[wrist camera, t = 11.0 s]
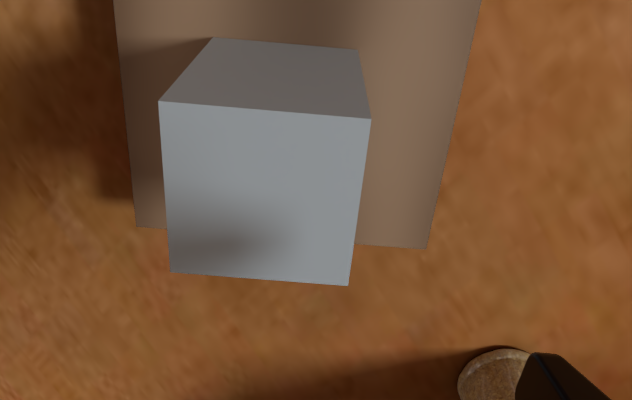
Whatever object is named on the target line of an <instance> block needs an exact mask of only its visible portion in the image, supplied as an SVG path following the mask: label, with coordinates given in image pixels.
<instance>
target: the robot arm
mask: <svg viewBox="0 0 632 400" xmlns="http://www.w3.org/2000/svg"><path fill="white" fill-rule="evenodd" d="M515 400H611V399H610V398H609V397H608V396H606V395H605V394H604V393H603V392H602V391H601V390H599V389H598V388H597V387H596V386H595V385H594V384H593V383H591V382H590V381H589V380H588V379H587V378H586V377H584V376H583V375H582V374H581V373H580V372H579V371H578V370H576V369H575V368H574V367H573V366H572V365H571V364H569V363H568V362H567V361H566V360H565V359H564V358H562V357H561V356H559V355H557V354H550V353H539V352H535V353H532V354H530V355H529V357H528V359H527V361H526V363H525V366H524V368H523V371H522V373H521V376H520V378H519V381H518V383H517V386H516V389H515Z"/></svg>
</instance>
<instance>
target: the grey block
mask: <svg viewBox="0 0 632 400" xmlns="http://www.w3.org/2000/svg"><path fill="white" fill-rule="evenodd" d="M158 107H159V121H160V135H161V149H162V163H163V177H164V191H165V204H166V218H167V232H168V246H169V260H170V272H175V273H188V274H201V275H214V276H227V277H239V278H252V279H265V280H278V281H291V282H304V283H317V284H329V285H342V286H348V282H349V275H350V268H351V261H352V254H353V246H354V239H355V232H356V225H357V218H358V211H359V204H360V197H361V190H362V183H363V176H364V169H365V162H366V155H367V148H368V141H369V134H370V127H371V120H372V119H371V113H370V108H369V103H368V98H367V93H366V88H365V83H364V78H363V73H362V68H361V63H360V58H359V53H358V50H354V49H343V48H331V47H320V46H308V45H297V44H286V43H274V42H263V41H251V40H240V39H229V38H217V37H213V38H212V39H211V40H210V41H209V43H208V44H207V45H206V46H205V47H204V48H203V50H202V51H201V52H200V53H199V54H198V55H197V57H196V58H195V59H194V60H193V61H192V62H191V63H190V65H189V66H188V67H187V68H186V69H185V70H184V72H183V73H182V74H181V75H180V76H179V77H178V78H177V80H176V81H175V82H174V83H173V84H172V85H171V87H170V88H169V89H168V90H167V91H166V92H165V94H164V95H163V96H162V97H161V98H160V99H159V100H158Z"/></svg>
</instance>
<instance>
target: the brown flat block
mask: <svg viewBox="0 0 632 400" xmlns="http://www.w3.org/2000/svg"><path fill="white" fill-rule="evenodd" d="M113 5H114V15H115V25H116V34H117V44H118V54H119V63H120V73H121V83H122V92H123V102H124V112H125V121H126V131H127V141H128V150H129V160H130V170H131V180H132V189H133V199H134V209H135V218H136V227H147V228H160V229H167V218H166V204H165V191H164V177H163V163H162V149H161V135H160V121H159V107H158V100H159V99H160V98H161V97H162V96H163V95H164V94H165V92H166V91H167V90H168V89H169V88H170V87H171V85H172V84H173V83H174V82H175V81H176V80H177V78H178V77H179V76H180V75H181V74H182V73H183V72H184V70H185V69H186V68H187V67H188V66H189V65H190V63H191V62H192V61H193V60H194V59H195V58H196V57H197V55H198V54H199V53H200V52H201V51H202V50H203V48H204V47H205V46H206V45H207V44H208V43H209V41H210V40H211V39H212V38H213V37H217V38H229V39H240V40H251V41H263V42H274V43H286V44H297V45H308V46H320V47H331V48H343V49H354V50H358V53H359V58H360V63H361V68H362V73H363V78H364V83H365V88H366V93H367V98H368V103H369V108H370V113H371V119H372V120H371V127H370V134H369V141H368V148H367V155H366V162H365V169H364V176H363V183H362V190H361V197H360V204H359V211H358V218H357V225H356V232H355V239H354V244H363V245H375V246H388V247H401V248H413V249H426V247H427V243H428V238H429V234H430V229H431V225H432V220H433V216H434V211H435V207H436V202H437V198H438V193H439V189H440V184H441V180H442V175H443V171H444V166H445V162H446V157H447V153H448V149H449V144H450V140H451V135H452V131H453V126H454V122H455V117H456V113H457V108H458V104H459V99H460V95H461V90H462V86H463V81H464V77H465V72H466V68H467V63H468V59H469V54H470V50H471V45H472V41H473V36H474V32H475V27H476V23H477V18H478V14H479V9H480V5H481V0H113Z"/></svg>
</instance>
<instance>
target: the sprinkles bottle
mask: <svg viewBox="0 0 632 400" xmlns="http://www.w3.org/2000/svg"><path fill="white" fill-rule="evenodd" d="M529 355H530V354H529V353H526V352H524V351H520V350H516V349H498V350H494V351H491V352H487V353H484V354H482V355H480V356H478V357H476V358H474V359H473V360H471V361H470V362H469V363H468V364H467V365H466V366H465V368H463V371H462V372H461V373H460V376H459V378H458V383H457V389H458V393H459V396H460V399H461V400H515V389H516V386H517V383H518V381H519V378H520V376H521V373H522V371H523V368H524V366H525V363H526V361H527V359H528V357H529Z"/></svg>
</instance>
